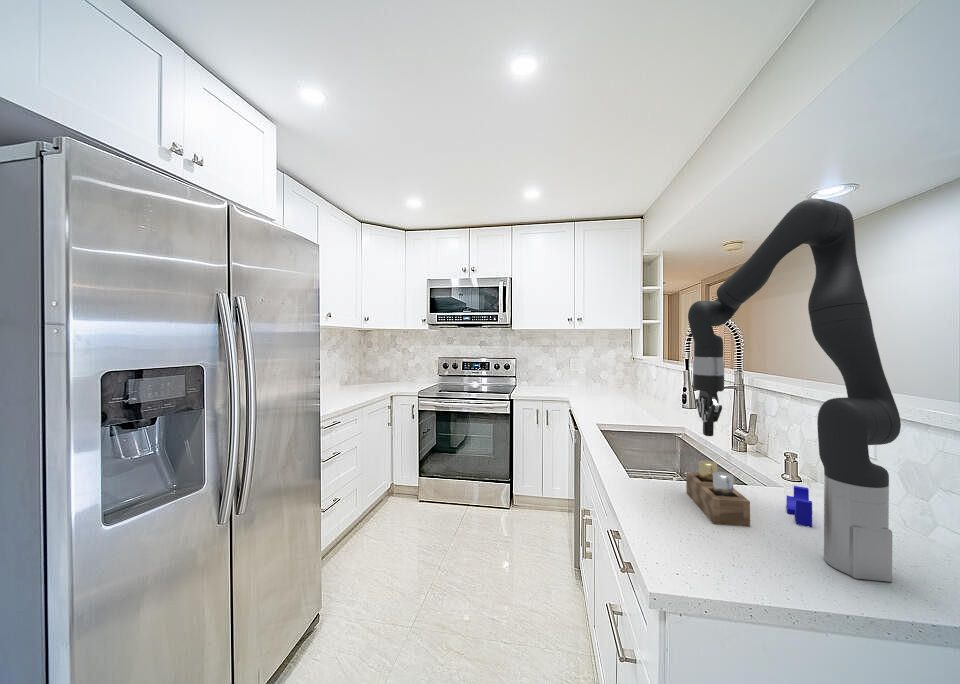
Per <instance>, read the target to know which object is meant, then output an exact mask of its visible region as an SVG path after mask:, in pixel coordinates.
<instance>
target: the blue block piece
mask: <svg viewBox="0 0 960 684" xmlns="http://www.w3.org/2000/svg"><path fill="white" fill-rule="evenodd" d="M809 492H810V489H809V487H806V486H805V487H804V486H798V485H793V496H791V495H786V513H787V515H792V516H794V520H795V523H796V524H795V525H798V526H804V527H807V526H809V528H813V501H812V500H810V495H809V494H810V493H809Z"/></svg>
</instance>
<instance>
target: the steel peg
mask: <svg viewBox="0 0 960 684" xmlns="http://www.w3.org/2000/svg"><path fill="white" fill-rule="evenodd" d="M733 488H734V475H733V474H731V473H728V472H723V471H717V472H714V473H713V493H714V494H715V495H716V496H727V497H733Z"/></svg>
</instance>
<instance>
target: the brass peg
mask: <svg viewBox="0 0 960 684" xmlns="http://www.w3.org/2000/svg"><path fill="white" fill-rule="evenodd" d="M714 472H718V463H717V462H716V461H712V460H706V459H705V460H702V459H701V460H699V461H698V473H699V480H700V481H701V482H713V473H714Z"/></svg>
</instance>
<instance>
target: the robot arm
mask: <svg viewBox="0 0 960 684" xmlns="http://www.w3.org/2000/svg"><path fill="white" fill-rule="evenodd" d="M855 235H856V234H855V224H854V218H853V214H852V213H851V211H850V209H849V208H847V206H846V205H843V204H841V203H839V202H835V201H829V200H827V199H823V198H814V197H813V198H807V199H805V200H802V201H800V202H798V203H796V204H795V205H794V206H793V207H792V208H790V210H789V211H788V212H787V213H786V214H785V215H784V216H783V217H782V219H781V220H780V221H779V222H778V223H777V225H776V226H775V227H774V228H773V230H771V232H770V233H769V235H768V236H767V237H766V238H765V239H764V240H763V241H762V243H761V244H760V245H759V247H758V248H757V249H756V250H755V251H754V253H752V255H751V256H750V257H749V258H748V259H747V260H746V261H745V262H744V264H742V265H741V266H740V267H739V268H738V269H737V270H736V271H735V272H734V273H732V274H731V275H730V277H728V278H727V279H726V280H725V281H723V283H721V284H720V285H719V286H718V288H717V290H716V296H717V298H716V299H715V300H697V301H694V302H693V304H692V305H691V306H690V308H689V309H688V314H687V320H688V324H689V329H690V333H691V336H692V339H693V345H694V346H693V362H692V388H693V390H695V391H699V393H698V397H697V398H696V399H695V403H696V408H697V411H698V416H699V418H700V419H701V422H702V434H703V435H704V436H706V437H714V429H715V427H714V423H718V421H719V418H720V416H721V413H722V410H723V405H722V404H719V401H720V400H719V397H718V396H719V395H718V392H723V391H725V361H724V339H723V338H722V337H721V336H720V335H717V334H715V331H714V329H713V328H714V327H720V326H722V325H724V324H726V323H728V321H730V320H731V319H732V318H733V316H734V315H735V314H736V312H737V311H738V310H739V309H740V307H741V306H742V304H744V303H745V302H747V300H749V299H750V298H751V297H752V296H754V295H755V294H756V293H757V292H758V291H760V290H761V289H762V288H763V287H764V286H765V285H766V283H767V282H768V280H769V279H770V277H771V275H772V273H773V272H774V270H775V268H776V266H777V265H778V264H779V263H780V262H781V260H782V259H784V257H786V256H787V255H788V254H789V253H791V252H792V251H794V250H795V249H797V248H798V247H800V246H802V245H803V244H804V245H808V246H809V247H810V250H811V253H812V256H813V260H814V264H815V276H814V277H815V278H814V282H813V284H812V288H811V290H810V294H809V299H808V305H807V307H808V309H807V310H808V315H809V321H810V326H811V331H812V334H813V337H814V339H815V341H816V342H817V343H818V345H819V347H820V348H821V349H822V350H823V352H824V353H825V355H826V356H828V357H829V359H830V360H831V361H832V362H833V363H834V365H835V366H836V368H837V369H838V371H839V372H840V374H841V376H842V379H843V381H844V384H845V389H846V395H847V397H834V398H830V399H828V400H826V401H824V402H823V403H822V405H820V408H819V409H818V412H817V439H818V440H817V441H818V454H819V458H820V459H819V460H820V461H821V463H822V465H823V469H824V470H823V472H824V473H823V474H824V476H823V477H824V479H823V481H824V482H823V484H824V485H823V486H824V487H823V489H824V490H823V560H824V561H825V562H826V563H827V564H828V565H829V566H831V567H832V568H833V569H836V570H837V571H840V572H842V573H844V574H847V575H849V576H851V578H853V579H858V580H867V581H880V582H893V531H892V530H891V529H889V528H890V527H889V525H890V524H889V523H890V522H889V521H890V520H889V519H890V517H889V516H890V514H889V513H890V511H889V510H890V509H889V507H890V503H889V502H890V489H889V488H890V475H889V471H888V470H887V469H886V468H885V467H883V466H882V465H879V464H876V463H874V462H872V461H871V460H870V451H869V446H880V445H888V444H890V443H892V442H894V441H895V440H896V439H897V438H898V436H899V434H900V432H901V428H902V426H901V425H902V423H901V416H900V413H899V410H898V407H897V404H896V401H895V398H894V397H893V393H892V391H891V387H890V385H889V382H888V379H887V377H886V374H885V371H884V368H883V365H882V362H881V361H882V360H881V356H880V353H879V349H878V345H877V341H876V338H875V332H874V327H873V322H872V321H873V320H872V316H871V311H870V308H869V303H868V300H867V296H866V293H865V288H864V285H863V280H862V275H861V270H860V268H859V262H858V257H857V250H856V249H857V248H856V247H857V246H856V236H855Z"/></svg>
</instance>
